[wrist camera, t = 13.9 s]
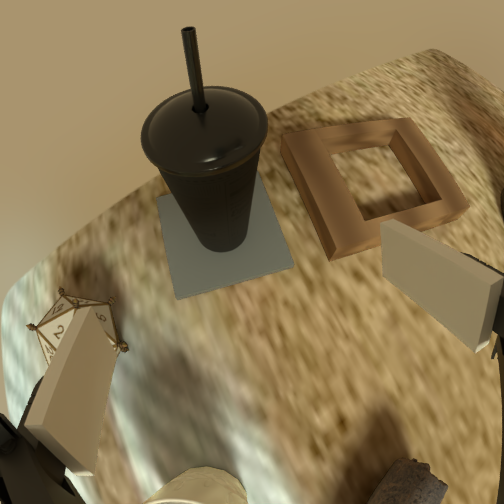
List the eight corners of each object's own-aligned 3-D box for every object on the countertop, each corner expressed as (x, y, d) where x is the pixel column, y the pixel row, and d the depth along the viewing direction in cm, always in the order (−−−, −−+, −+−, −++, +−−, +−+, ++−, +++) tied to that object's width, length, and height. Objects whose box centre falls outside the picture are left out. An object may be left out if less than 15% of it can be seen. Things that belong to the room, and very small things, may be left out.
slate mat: (257, 175, 33) (257, 170, 32) (293, 267, 29) (294, 264, 28) (158, 201, 32) (156, 197, 31) (177, 299, 28) (175, 297, 27)
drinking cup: (217, 183, 32) (190, -3, 13) (278, 222, 30) (303, 22, 12) (166, 236, 29) (80, 55, 11) (228, 283, 27) (186, 92, 9)
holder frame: (402, 132, 37) (410, 117, 34) (457, 219, 31) (470, 206, 28) (280, 152, 34) (282, 134, 32) (329, 261, 29) (336, 248, 26)
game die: (129, 363, 29) (124, 426, 19) (52, 350, 26) (22, 405, 17) (136, 281, 28) (127, 321, 18) (53, 266, 25) (10, 298, 16)
